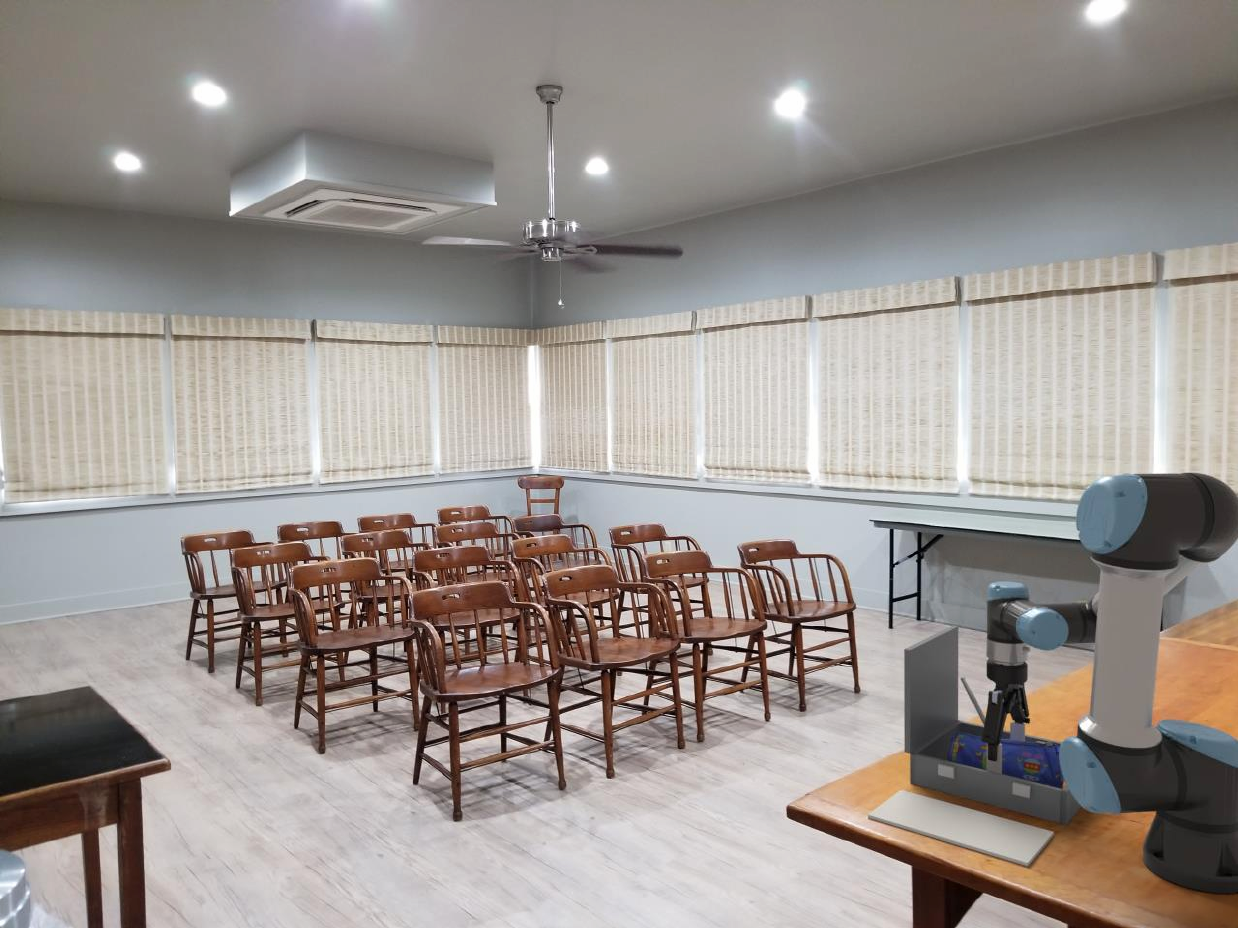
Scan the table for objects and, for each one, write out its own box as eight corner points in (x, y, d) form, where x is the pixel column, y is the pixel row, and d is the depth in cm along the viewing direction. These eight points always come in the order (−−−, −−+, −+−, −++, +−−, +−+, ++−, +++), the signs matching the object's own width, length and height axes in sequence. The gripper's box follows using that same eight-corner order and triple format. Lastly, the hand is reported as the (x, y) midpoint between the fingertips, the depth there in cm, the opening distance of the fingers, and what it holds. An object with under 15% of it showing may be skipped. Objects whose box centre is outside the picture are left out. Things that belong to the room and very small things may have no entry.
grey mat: (1027, 866, 147) (1027, 862, 147) (868, 817, 165) (868, 814, 165) (1053, 835, 157) (1053, 831, 157) (900, 792, 176) (900, 789, 176)
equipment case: (1064, 826, 160) (1066, 677, 159) (902, 782, 180) (902, 649, 179) (1102, 780, 180) (1104, 647, 178) (952, 745, 200) (952, 625, 198)
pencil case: (1067, 783, 179) (1067, 736, 178) (1067, 800, 171) (1067, 751, 171) (950, 765, 189) (950, 721, 188) (945, 781, 181) (945, 734, 181)
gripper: (1004, 679, 167) (1003, 790, 168) (1046, 649, 185) (1045, 750, 187) (964, 671, 172) (963, 779, 173) (1008, 643, 190) (1007, 741, 192)
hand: (1006, 764), depth 180 cm, fingers open, 13 cm apart
